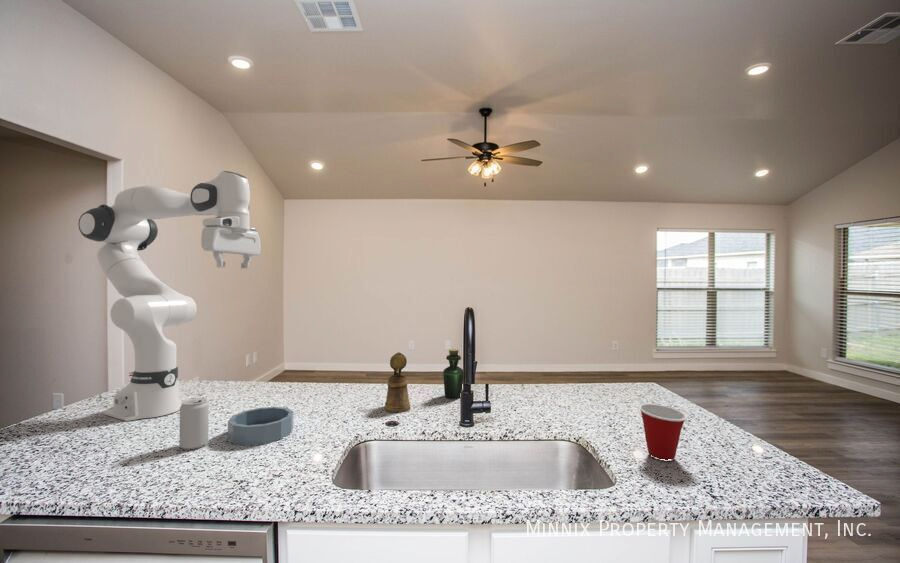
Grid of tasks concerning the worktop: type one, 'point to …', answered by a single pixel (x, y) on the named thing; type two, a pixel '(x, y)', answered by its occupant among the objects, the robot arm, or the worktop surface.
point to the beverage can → (194, 423)
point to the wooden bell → (397, 386)
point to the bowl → (260, 425)
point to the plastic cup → (662, 429)
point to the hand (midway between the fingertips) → (233, 268)
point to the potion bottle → (453, 376)
